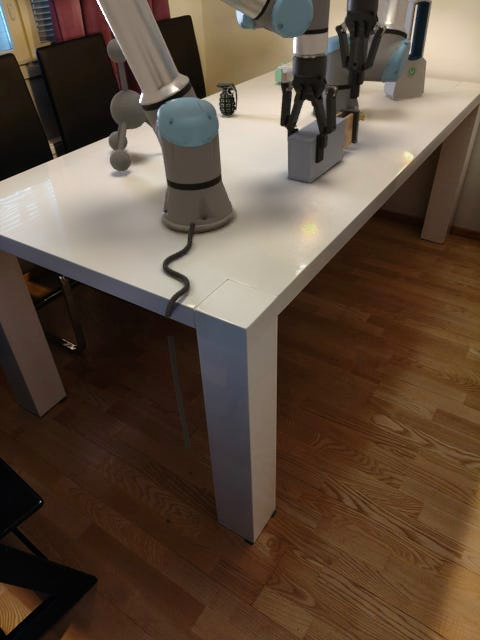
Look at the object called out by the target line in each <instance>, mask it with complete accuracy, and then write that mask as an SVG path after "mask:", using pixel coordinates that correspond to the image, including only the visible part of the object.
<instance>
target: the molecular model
mask: <svg viewBox="0 0 480 640" xmlns="http://www.w3.org/2000/svg"><path fill="white" fill-rule="evenodd" d="M106 52H107V55H108V57H109V59H110V60H111V61H112V62H114V63H115V64H117V68H118V73H119V79H120V85H121V89H122V90H120V91H118V92H117V93H116V94H115V95H114V96H113V97H112V99H111V102H110V115H111V117H112V119H113V120H114V122H115V123H116V124H117V125H118V127H117V131H113V132H111V133H110V134H109V136H108V138H107V139H108V145H109V147H110V148H111V149H112V150H113V152H111V154H110V156H109V163H110V166H111V167H112V169H114V170H115V171H117V172H126V171H128V169H129V168H130V167H131V164H132V158H131V156H130V154H129V153H128V152H127V151H126V148H127V147H128V137H127V130H134V129H138V128H140V127H141V126H143V124H144V123H146V124H147V125H148V126H149V127H150V128H152V126H151V124H150V122H149V120H148V118H147V116H146V114H145V112H144V110H143V108H142V106H141V104H140V102H139V101H140V97H141V94H140V93H139V92H137V91H134V90H132V89H129V86H128V81H127V73H126V69H125V62H127V60H126V58H125V56H124V54H123V52H122V50H121V48H120V46H119V44H118V42H117V40H116V38H115V37H114V38H112V39H111V40H109V42H108V44H107V46H106Z"/></svg>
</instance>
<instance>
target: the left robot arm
mask: <svg viewBox="0 0 480 640" xmlns="http://www.w3.org/2000/svg"><path fill="white" fill-rule="evenodd" d="M220 1H221V2H223V3H225V4H226V5H228V6H230V7H231V8H233V9H234V10H235V14H236V20H237V23H238V25H239V27H240V28H241V29H242V30H253V31H254V30H255V31H256V30H257V29H264V30H267V31H268V32H271V33H274V34H276V35H277V36H280V37H281V38H284V39H292V54H294V56H293V57H292V61H293V71H292V72H293V79H292V81H286V82H281V84H280V89H281V93H282V94H281V106H280V121H279V125H280V127H282V128H283V127H284V128H285V129H286V131H287V133H286V134H287V135H286V137H287V139H286V140H287V142H288V137H289V136H291V135H292V134H294V133H295V132H297V131H299V130H300V129H299V128H298V125H297V123H298V120H299V117H300V115H301V111H302V109H303V105H304V102H305V101H308V102H310V104H311V107H313V108H314V112H315V115H314V116H315V120H317V124H318V128H319V133H320V134H318V135H317V137H316V160H315V163H319V162H321V161H322V160H323V159H324V149H325V148H326V147H327V143H328V134H331V133H332V132H334V131H336V95H337V92H338V86H331V85H329V84H327V81H326V70H327V56H326V55H325V53H326V52H327V49H328V38H329V25H330V11H331V10H330V9H331V0H220ZM96 2H97V4H98V5H99V8H100V10H101V11H102V14H103V15H104V18H105V20H106V22H107V24H108V26H109V28H110V30H111V32H112V34H113V36H114V39H115V38H116V40H117V42H118V44H119V46H120V48H121V50H122V52H123V54H124V56H125V58H126V62H127V64H128V67H129V69H130V70H131V72H132V74H133V77H134V79H135V80H136V82H137V85H138V86H139V88H140V90H141V94H140V95H141V97H140V101H139V102H140V104H141V106H142V108H143V110H144V112H145V114H146V116H147V118H148V120H149V122H150V124H151V126H152V127H151V129H152V130H153V133H154V134H155V135H156V138H157V140H158V143H159V146H160V148H161V153H162V159H163V168H164V173H165V180H166V190H165V191H166V192H165V196H164V203H163V207H162V218H163V222H164V224H165V226H167V227H168V228H169V229H171V230H173V231H177V232H180V233H188V234H187V242H186V245H185V246H184V247H183V248H182V249H181V250H179V251H177V252H175V253H173V254H170V255H169V256H167V257H166V258H164V260H163V261H162V269H163V271H164V272H165V273H167V274H169V275H171V276H173V277H175V278H177V279H179V280H181V281H182V282H183V283H184V285H183V287H182V288H180V289H179V290H177V291H176V292H175V293H174V294H173V295H172V296H171V297H170V298H169V300H168V303H167V304H166V308H165V314H164V317H165V319H169V318H171V316H172V312H173V311H172V310H173V307H174V305H175V303H176V302H177V301H178V299H180V298H181V297H182V296H184V295H185V294H186V293H187V292H188V291H189V290H190V287H191V283H190V280H189V278H188V277H187V276H186V275H184V274H182V273H181V272H178V271H177V270H174V269H172V268H170V267H169V263H170V262H172V261H173V260H176V259H177V258H179V257H182V256H184V255H185V254H186V253H188V252H189V251H190V250H191V248H192V245H193V237H194V234H195V233H196V234H197V233H205V232H206V233H207V232H210V231H215V230H216V229H220V228H222V227H224V226H226V225H227V224H228V223H230V221H231V220H232V218H233V216H234V212H233V211H234V210H233V205H232V201H231V200H230V197H229V195H228V192H227V190H226V187H225V184H224V182H223V175H222V174H223V173H222V161H221V147H220V146H221V145H220V133H219V131H220V130H219V129H220V122H219V118H218V114H217V109H216V108H215V106H214V105H213V104H212V103H211V102H210V101H208V100H207V99H206V100H205V99H201V98H199V97H198V96H197V94H196V92H195V90H194V87H193V85H192V82H191V81H190V78H189V77H188V76H187V75H184V74H182V73H180V72H179V70H178V68H177V66H176V64H175V62H174V59H173V57H172V55H171V52H170V50H169V48H168V46H167V43H166V41H165V39H164V37H163V35H162V32H161V30H160V27H159V25H158V23H157V21H156V19H155V16H154V13H153V11H152V10H151V7H150V5H149V2H148V0H96ZM324 90H325V91H326V93H325V95H326V96H327V97H326V114H325V110H324V106H323V96H322V93H323V91H324ZM293 91H294V92H295V95H294V98H293ZM292 99H293V105H292ZM174 339H175V338H174V335H169V336H167V342H168V353H169V359H170V367H171V373H172V374H171V375H172V380H173V386H174V392H175V397H176V403H177V408H178V412H179V419H180V423H181V427H182V435H183V439H184V445H185V449H187V450H189V449H191V448H192V447H191V439H190V434H189V430H188V424H187V419H186V413H185V408H184V401H183V397H182V391H181V384H180V379H179V372H178V364H177V357H176V348H175V340H174Z"/></svg>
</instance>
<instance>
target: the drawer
mask: <svg viewBox="0 0 480 640" xmlns="http://www.w3.org/2000/svg"><path fill="white" fill-rule="evenodd" d="M360 112H361V111H360V109H359V110H351V109H344V108H342V109H340V112H339V113H337V114H336V117H339V118H346V121H345V138H344V150H345V149H346V148H348V147H349V146H351V145H352V144H353V145H354V144H355V145H356V144H357V143H358V137H359V127H360V126H359V125H360V122H364V121H365V119H366V114H365V113H360Z"/></svg>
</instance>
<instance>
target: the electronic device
mask: <svg viewBox="0 0 480 640" xmlns="http://www.w3.org/2000/svg"><path fill="white" fill-rule="evenodd" d="M432 4H433V0H409V3H408V8H407V13H406V18H405V23H404V29H405V31H406V32H407V34H408V35H407V39H408V40H410V41H411V48H410V52H409V57H408V61H407V64H406V67H405V70H404V72H403V74H402V76H401V77H400V79H399V80H398V81H396V82H385V83H384V85H383V92H384V94H385V96H386V97H389V98H391V99H393V100H403V99H411V98H419V97H421V96H422V95H423V94H424V92H425V82H426V71H427V60H426V59H425V58H424V53H425V47H426V40H427V35H428V28H429V22H430V16H431V10H432ZM416 6H417V7H416ZM415 12H416V13H415ZM413 26H414V27H413Z"/></svg>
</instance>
